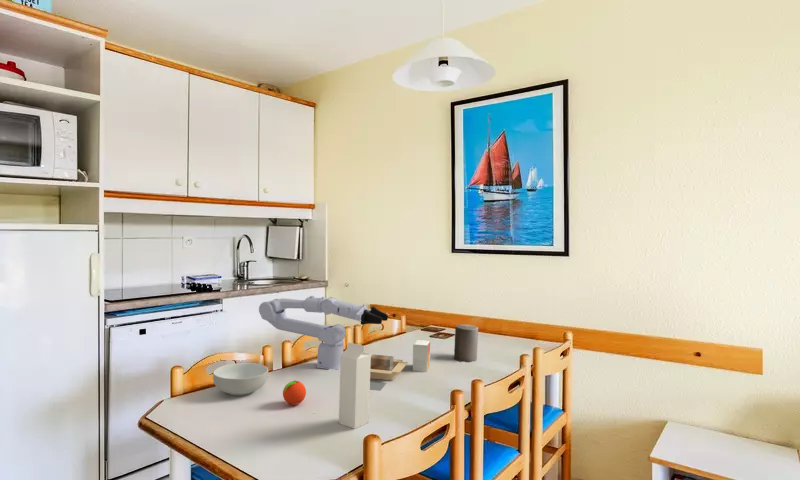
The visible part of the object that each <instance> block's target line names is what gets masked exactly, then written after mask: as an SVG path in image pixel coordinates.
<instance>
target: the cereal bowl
mask: <svg viewBox="0 0 800 480" xmlns="http://www.w3.org/2000/svg"><path fill="white" fill-rule="evenodd" d="M268 376H269V368H268V367H267V366H266V365H264V364H259V363H254V362H253V363H252V362H237V363H230V364H225V365H222V366H219V367H217V368H216V369H215V370H213V373H212V381H213V384H214V385H215V387H216V389H218V390H219V391H221V392H224V393H227V394H228V395H230V396H235V395H236V396H239V397H240V396H247V395H250V394H252V393H253V392H256V391H258V390H260V389H261V388H262V387H263V386H264V385H265V384H266V382H267V380H268Z"/></svg>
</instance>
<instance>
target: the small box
mask: <svg viewBox="0 0 800 480" xmlns="http://www.w3.org/2000/svg"><path fill="white" fill-rule="evenodd" d="M412 346H413V347H412V348H413V349H412V372H420V373H421V372H422V373H428V370H429V368H430V358H431V357H430V354H431V341H430V340H423V339H422V340H421V339H416V340H415V342H414V343H413V345H412Z"/></svg>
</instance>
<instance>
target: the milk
mask: <svg viewBox="0 0 800 480" xmlns="http://www.w3.org/2000/svg"><path fill="white" fill-rule="evenodd" d="M371 356H372V355H371V354H370V353H368V352H366V351H365V345H361V344H359V343H358V344H357V343H354V342H348V343H347V348H346V349H345V350H343V354H342V355H341V359H340V370H339V400H338V402H339V403H338V407H339V408H338V424H340V425H342V426H346V427H348V428H352V429H354V430H355V429H358V428H359V427H362V426H364V425H366V424H369V422H370V397H371V395H370V394H371V390H370V381H371V378H370V363H371Z"/></svg>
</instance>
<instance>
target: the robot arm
mask: <svg viewBox="0 0 800 480" xmlns="http://www.w3.org/2000/svg"><path fill="white" fill-rule="evenodd" d="M286 309H303V310H304V311H305V312H306V313H322V314H324V315H325V316H327V315H331V314H333V315H335V316H339V317H342V318H347V319H351V320H354V321H358V322H359V323H360V325H361V326H363V325H371V324H373V325H382V322H384V321H388V319H389V315H388V314H387V313H385V312H383V311H380V310H379V309H378V308H377V307H375V306H374V305H372V306H370V308H368V307H367V303H363V304H362V305H359V304H355V303H351V302H347V301H344V300H342V301H341V300H338V299H337V298H336V297H332V296H330V297H328V298H327V297H325V296H321V297H315V296H314V295H309V296H307V297H306V298H305V299H294V298H293V299H292V298H275V299H272V300H269V301H263V302H261V303H260V304H259V306H258V313H259V315H260V317H261V319H262V320H265V321H267V323H269V324H270V325H272V326H273V327H274V329H276V330H278V331H279V330H280V331H285V332H288V333H294V334H298V335H301V336H302V335H303V336H307V337H312V338H317V340H318V341H319V342H320V341H321V342H320V343H319V344H318V347H317V357H316V358H317V360H316V361H317V362H316V363H317V366H316V368H317V369H325V370H336V371H337V370H338V371H340V359H341V355H342V354H343V352H344V338H346V335H347V331H346V328H345V327H344V325H341V324H334V325H332V324H319V323H314V322H309V321H305V320H304V321H303V320H298V319H294V318H289V317H287V313H286Z"/></svg>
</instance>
